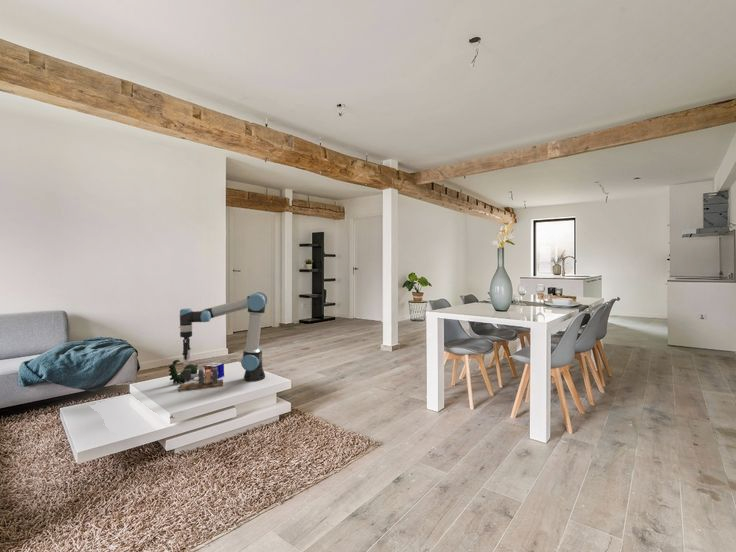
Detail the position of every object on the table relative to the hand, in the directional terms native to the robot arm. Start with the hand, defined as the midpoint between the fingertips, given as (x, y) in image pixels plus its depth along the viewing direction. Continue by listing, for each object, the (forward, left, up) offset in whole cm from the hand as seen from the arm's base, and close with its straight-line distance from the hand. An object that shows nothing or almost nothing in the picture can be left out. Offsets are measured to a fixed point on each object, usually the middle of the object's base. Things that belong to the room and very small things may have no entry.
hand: (186, 361), depth 263 cm
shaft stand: (-9, 0, -18) cm, 20 cm away
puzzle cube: (-17, -19, -19) cm, 31 cm away
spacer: (-13, 0, -14) cm, 19 cm away
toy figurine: (+3, -18, -19) cm, 26 cm away
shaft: (-9, 0, -12) cm, 15 cm away
